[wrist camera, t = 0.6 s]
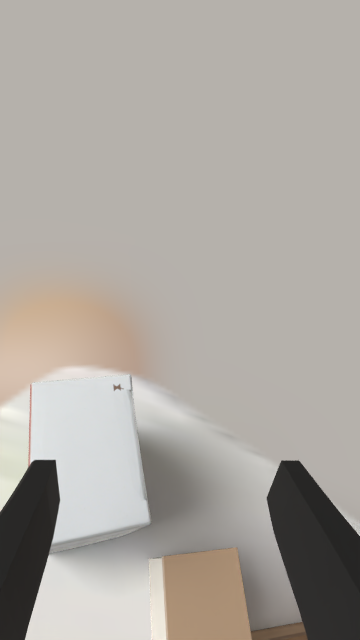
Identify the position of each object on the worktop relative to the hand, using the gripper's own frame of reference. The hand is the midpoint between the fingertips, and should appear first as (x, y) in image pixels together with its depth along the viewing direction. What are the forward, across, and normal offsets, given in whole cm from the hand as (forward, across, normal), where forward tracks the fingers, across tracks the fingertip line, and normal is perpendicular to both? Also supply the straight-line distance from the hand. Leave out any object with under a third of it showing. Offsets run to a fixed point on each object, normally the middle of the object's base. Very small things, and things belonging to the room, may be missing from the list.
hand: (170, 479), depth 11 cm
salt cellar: (+3, -3, +18) cm, 18 cm away
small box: (+9, +5, +14) cm, 18 cm away
